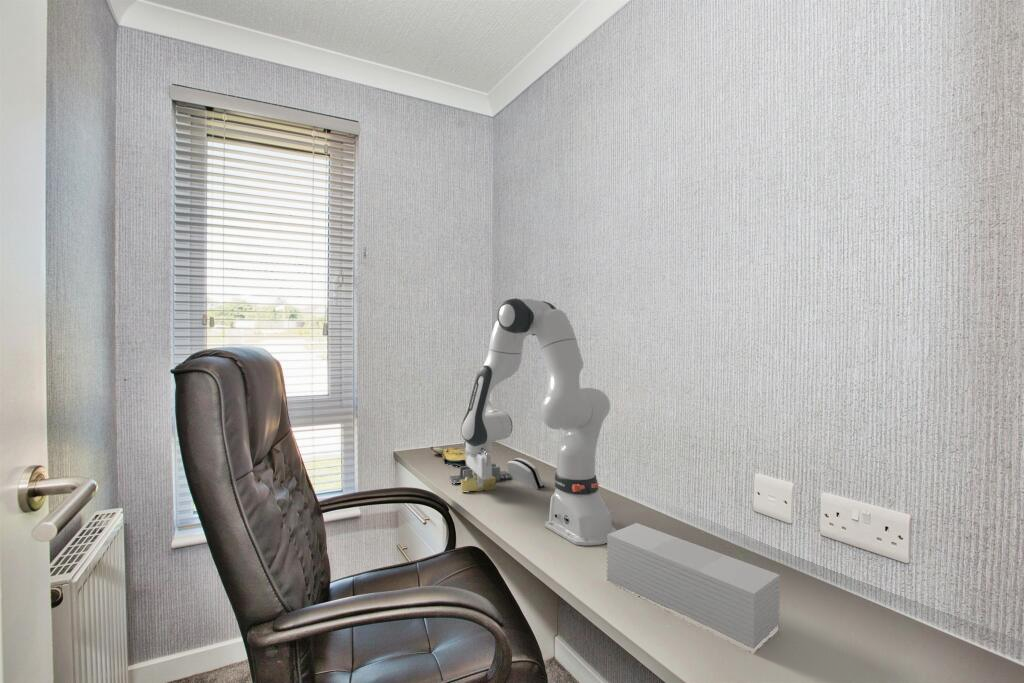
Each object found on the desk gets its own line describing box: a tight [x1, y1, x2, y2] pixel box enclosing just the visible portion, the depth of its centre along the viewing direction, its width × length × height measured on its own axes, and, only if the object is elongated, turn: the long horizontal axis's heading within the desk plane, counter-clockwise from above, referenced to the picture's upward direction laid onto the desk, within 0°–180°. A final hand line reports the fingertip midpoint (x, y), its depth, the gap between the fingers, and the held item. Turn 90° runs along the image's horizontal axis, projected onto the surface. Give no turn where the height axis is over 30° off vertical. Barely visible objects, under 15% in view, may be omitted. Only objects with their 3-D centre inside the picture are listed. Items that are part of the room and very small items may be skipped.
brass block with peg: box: [460, 476, 497, 492], centre depth 171 cm, size 2×12×5 cm, turn 111°
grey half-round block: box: [506, 457, 547, 490], centre depth 180 cm, size 17×5×10 cm, turn 34°
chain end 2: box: [491, 463, 510, 482], centre depth 185 cm, size 6×9×5 cm, turn 111°
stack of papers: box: [606, 522, 781, 649], centre depth 100 cm, size 32×11×11 cm, turn 40°
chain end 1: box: [449, 466, 473, 483], centre depth 181 cm, size 6×9×5 cm, turn 111°
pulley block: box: [429, 446, 467, 466], centre depth 211 cm, size 14×6×30 cm
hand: (478, 485), depth 171 cm, fingers closed on brass block with peg, 2 cm apart
